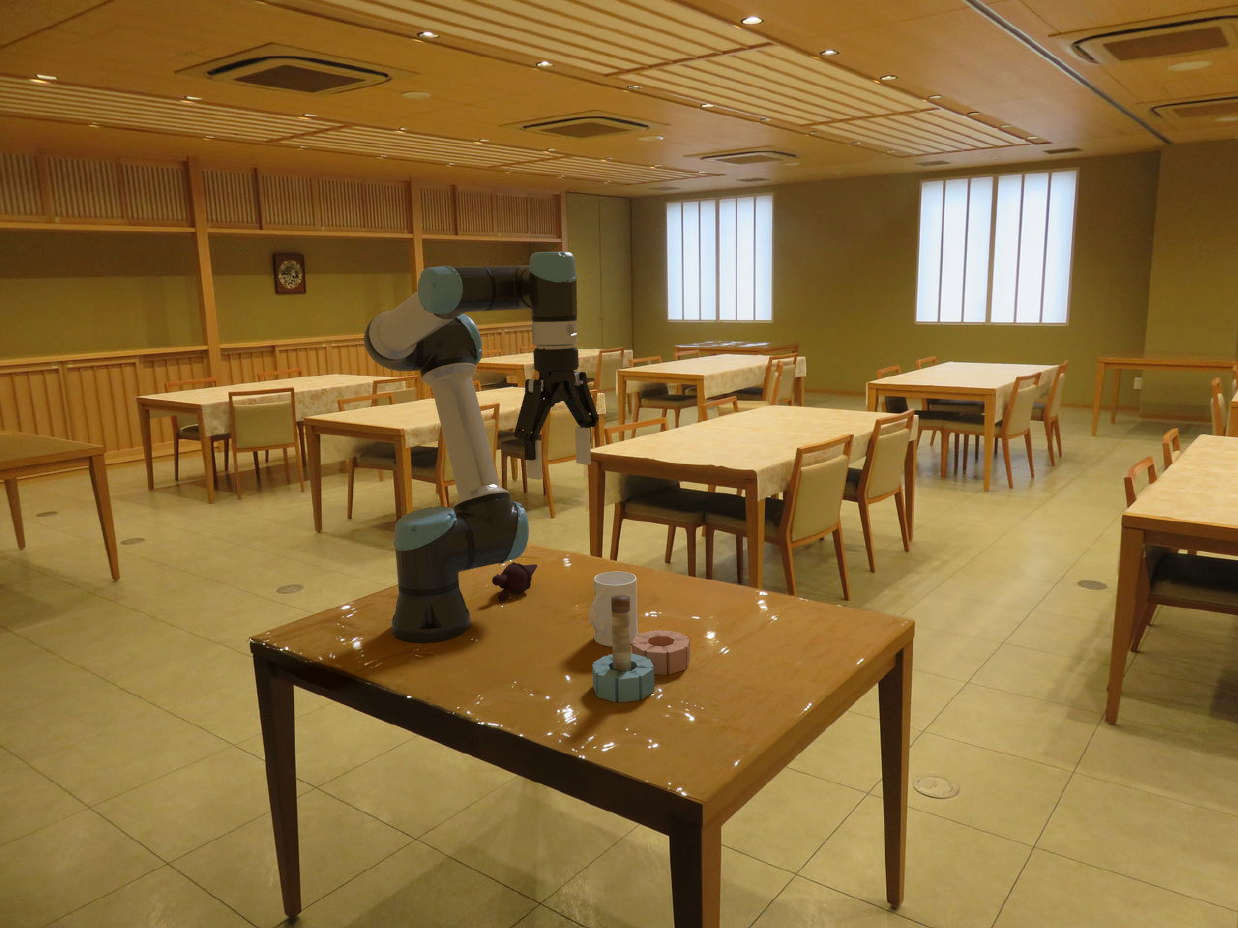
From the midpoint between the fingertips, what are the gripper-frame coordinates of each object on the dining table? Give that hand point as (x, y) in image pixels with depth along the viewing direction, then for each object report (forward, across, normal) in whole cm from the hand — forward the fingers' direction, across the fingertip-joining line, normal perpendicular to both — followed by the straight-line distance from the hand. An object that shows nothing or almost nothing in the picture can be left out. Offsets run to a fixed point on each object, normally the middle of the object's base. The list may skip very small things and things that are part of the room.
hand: (560, 471), depth 155 cm
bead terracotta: (+35, +8, -15) cm, 39 cm away
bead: (+35, -4, -15) cm, 38 cm away
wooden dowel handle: (+35, -4, -15) cm, 38 cm away
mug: (+35, +11, -2) cm, 37 cm away
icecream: (+35, +23, +31) cm, 52 cm away
